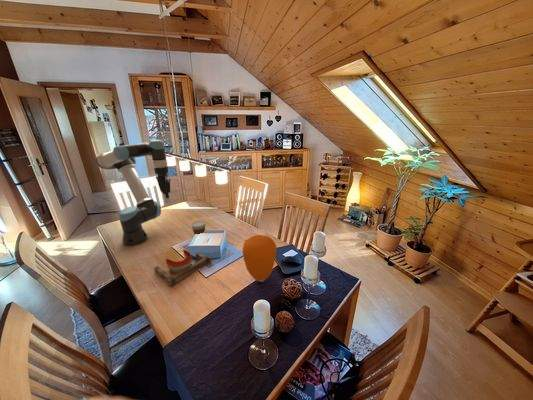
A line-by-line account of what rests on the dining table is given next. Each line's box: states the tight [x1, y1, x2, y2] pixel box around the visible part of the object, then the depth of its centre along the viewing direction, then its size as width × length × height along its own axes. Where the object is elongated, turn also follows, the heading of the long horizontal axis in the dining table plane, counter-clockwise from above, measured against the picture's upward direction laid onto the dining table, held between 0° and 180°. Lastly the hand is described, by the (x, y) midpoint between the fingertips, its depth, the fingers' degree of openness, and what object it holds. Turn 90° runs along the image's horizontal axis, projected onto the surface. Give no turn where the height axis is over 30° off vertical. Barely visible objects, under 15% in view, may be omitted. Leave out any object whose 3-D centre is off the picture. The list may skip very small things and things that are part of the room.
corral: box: [153, 253, 212, 288], centre depth 128 cm, size 17×26×4 cm, turn 143°
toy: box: [165, 249, 192, 275], centre depth 127 cm, size 12×10×8 cm
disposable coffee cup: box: [190, 220, 206, 235], centre depth 157 cm, size 10×10×12 cm
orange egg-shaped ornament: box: [242, 234, 278, 283], centre depth 115 cm, size 17×17×25 cm
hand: (167, 202), depth 145 cm, fingers closed
